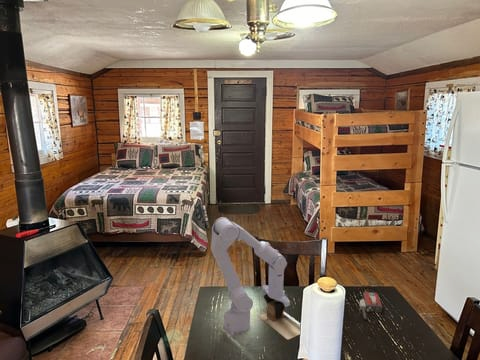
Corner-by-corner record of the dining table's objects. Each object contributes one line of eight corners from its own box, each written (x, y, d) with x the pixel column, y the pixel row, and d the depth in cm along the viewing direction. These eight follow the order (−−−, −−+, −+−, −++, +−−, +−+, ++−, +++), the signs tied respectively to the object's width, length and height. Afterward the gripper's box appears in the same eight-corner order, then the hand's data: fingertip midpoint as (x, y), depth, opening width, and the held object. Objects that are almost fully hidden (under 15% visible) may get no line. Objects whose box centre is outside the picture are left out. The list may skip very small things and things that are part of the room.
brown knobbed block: (270, 323, 136) (270, 308, 134) (263, 318, 139) (264, 304, 138) (286, 316, 140) (286, 302, 139) (279, 311, 143) (280, 298, 142)
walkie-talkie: (356, 295, 159) (362, 321, 140) (357, 286, 158) (363, 311, 139) (377, 298, 157) (386, 324, 138) (378, 288, 156) (387, 314, 137)
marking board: (287, 343, 126) (287, 335, 126) (257, 318, 141) (257, 311, 140) (306, 334, 131) (306, 327, 130) (275, 311, 146) (275, 304, 145)
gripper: (296, 287, 133) (295, 320, 135) (272, 272, 145) (271, 303, 147) (281, 292, 129) (281, 326, 132) (258, 277, 141) (257, 308, 143)
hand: (275, 314), depth 139 cm, fingers closed on brown knobbed block, 4 cm apart
